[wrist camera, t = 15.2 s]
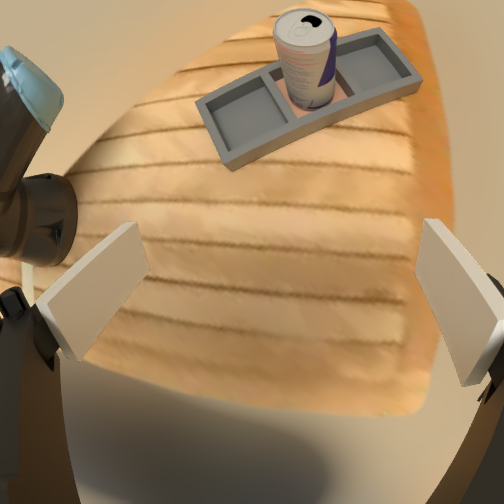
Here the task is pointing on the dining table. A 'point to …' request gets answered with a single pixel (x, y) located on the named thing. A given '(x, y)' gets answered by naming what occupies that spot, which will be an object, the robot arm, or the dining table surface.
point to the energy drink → (307, 56)
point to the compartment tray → (294, 118)
